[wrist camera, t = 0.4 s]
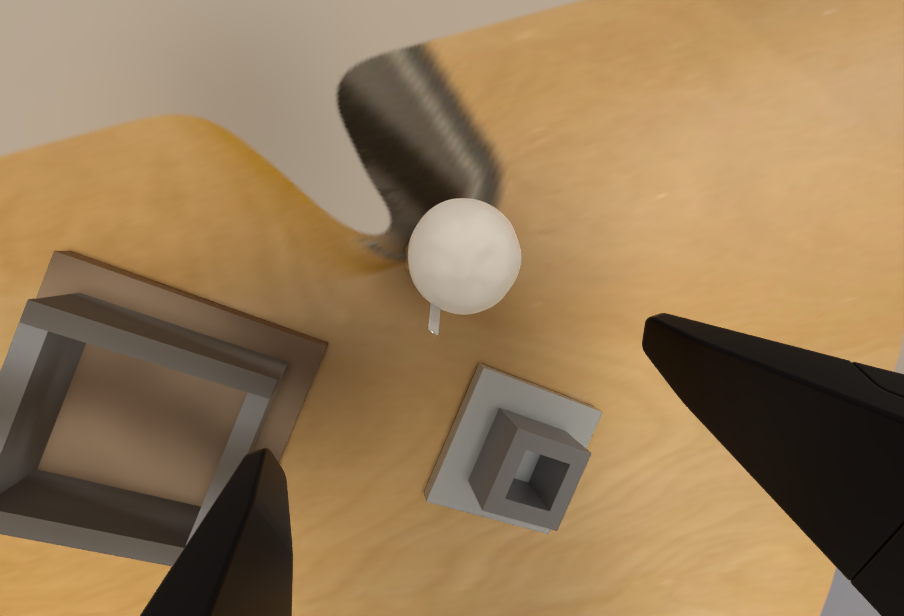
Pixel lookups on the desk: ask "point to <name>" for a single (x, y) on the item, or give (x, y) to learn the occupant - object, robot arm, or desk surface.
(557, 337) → the desk surface
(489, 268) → the milkshake
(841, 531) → the robot arm
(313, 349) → the wide socket
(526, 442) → the narrow socket
